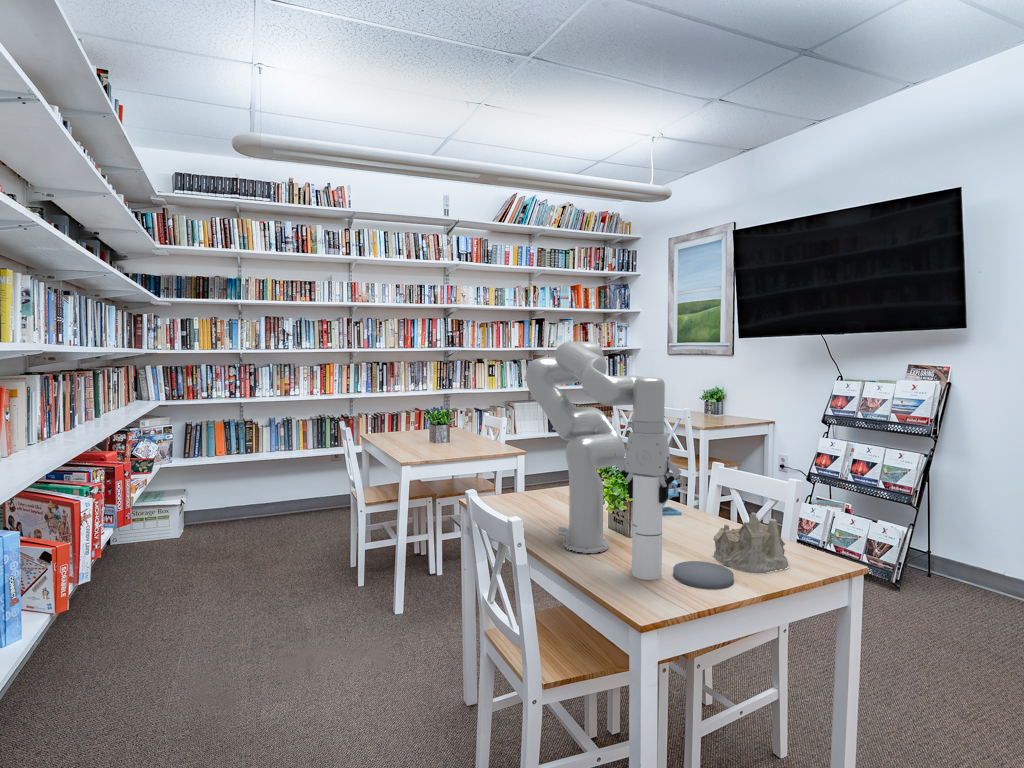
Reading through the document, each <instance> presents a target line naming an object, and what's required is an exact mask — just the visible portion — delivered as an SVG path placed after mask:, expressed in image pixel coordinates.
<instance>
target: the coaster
mask: <svg viewBox="0 0 1024 768" xmlns="http://www.w3.org/2000/svg"><path fill="white" fill-rule="evenodd" d="M672 568H673V569H672V572H673V573H672V574H673V575H672V576H673V578H674V579H675V580H676V581H677V582H680V583H681V584H683V585H686V586H690V587H693V588H698V589H706V590H720V589H725V588H726V589H727V588H728V587H731V586H732V585H734V583H735V582H734V579H735V578H734V577H735V575H734V573H733V571H732V570H731V569H730V568H728V567H727V566H725V565H722V564H721V565H720V564H717V563H714V562H708V561H701V560H700V561H699V560H697V561H696V560H691V561H683V562H682V561H681V562H679V563H676V564H675V565H673V567H672Z"/></svg>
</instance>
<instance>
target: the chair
mask: <svg viewBox="0 0 1024 768" xmlns="http://www.w3.org/2000/svg"><path fill="white" fill-rule="evenodd" d="M678 484H679V483H678V482H677V480H676V479H675V480H674V481H673V482H672V483H671V484H670V485H668V499H667V500H666V502H664V503H663V506H662V516H666V515H667V516H681V515H682V511H681V510H679V509H676V508H674V507H671V506H665V504H666V503H667V501H669V500H670V499H672V498H674V497H675V498H676V497H679V496H680V495H679V493H677V487H678ZM669 486H673V487H674V488H673V491H672V490H670V488H669ZM668 510H669V511H668Z"/></svg>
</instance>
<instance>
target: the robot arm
mask: <svg viewBox="0 0 1024 768" xmlns="http://www.w3.org/2000/svg"><path fill="white" fill-rule="evenodd" d="M607 367H608V366H607V362H606V360H605V356H604V351H603V349H602V348H601V346H600V345H599V344H597V343H596V342H593V341H566V342H563V343H561V344H560V345H558V347H557V348H556V349H555V352H554V356H544V357H538V358H536V359H533V360H531V361H530V362H529V363H528V364H527V366H526V371H525V381H526V386H527V389H528V391H529V393H530V395H531V396H532V398H533V399H534V400H535V402H537V404H538V405H539V406H540V408H541V409H542V410H543V412H544V413H545V416H546V417H547V418H548V420H549V421H550V424H551V425H552V427H553V430H555V431H556V434H557V435H558V436H559V438H560V439H562V440H565V441H569V442H567V445H566V448H565V456H566V457H565V458H566V463H567V469H568V481H569V482H568V485H569V486H568V489H569V491H568V492H569V493H568V494H569V495H568V497H569V498H568V499H569V500H568V503H569V505H568V507H569V508H568V512H569V513H568V514H569V515H568V518H569V519H568V527H563V526H559V527H558V529H557V535H558V536H562V537H565V539H564V540H563V547H564V546H565V547H566V548H568V549H570V550H573V551H577V552H583V553H582V554H586V553H591V554H598V552H600V553H603V552H606V551H607V550H608V549H609V542H608V541H607V540H606V539H604V483H603V480H602V478H601V476H600V475H599V472H598V470H597V469H601V468H602V469H603V468H609V467H610V468H611V467H616V468H617V469H618V471H619V472H620V474H621V476H622V477H623V478H624V479H625V482H626V483H627V495H628V499H629V500H633V474H638V475H646V476H655V477H659V481H660V483H661V487H660V488H659V502H660V503H664V502H666V500H667V499H668V485H669V486H671V485H670V484H671V483H672V482H673V481H674V480H675V481H676V479H677V478H678V477H679V476H681V473H682V470H681V469H680V468H679V467H678V466H677V465H676V464H674V462H672V460H671V457H670V456H671V455H670V446H669V445H670V444H669V439H668V435H667V434H666V433H665V403H666V402H665V394H666V393H665V392H666V390H665V389H666V388H665V386H666V384H665V381H664V380H663V379H662V378H660V377H651V376H649V377H647V376H646V377H645V376H641V375H607V374H606V372H607ZM579 382H580V383H581V387H582V390H583V391H584V393H585V394H586V395H587V396H588V397H589V398H591V399H592V400H594V401H595V402H597V403H599V404H601V405H603V406H607V407H616V406H618V407H619V406H632V420H631V421H628V422H627V427H628V428H631V431H632V432H629V433H628V438H627V442H626V443H627V444H626V447H625V443H624V441H623V438H622V437H621V435H620V434H619V433H618V431H617V430H616V428H615V427H614V425H613V424H612V423H611V421H610V420H609V418H608V417H607V416H606V414H605V413H604V412H603V411H602V410H601V409H599V408H597V407H593V406H587V407H585V406H583V407H579V406H576V405H575V404H574V403H573V402H572V400H571V399H570V397H569V396H568V395H567V393H565V392H564V391H563V390H561V389H560V388H558V387H557V386H556V385H574V384H577V383H579ZM670 471H671V474H670V476H669V477H668V475H667V474H669V472H670ZM668 500H669V499H668ZM668 500H667V501H668ZM666 503H667V502H666ZM565 547H564V548H565ZM566 548H565V549H566ZM568 549H567V550H568ZM570 550H569V551H570ZM573 551H572V552H573ZM577 552H576V553H577Z"/></svg>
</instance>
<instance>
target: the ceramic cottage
mask: <svg viewBox="0 0 1024 768" xmlns="http://www.w3.org/2000/svg"><path fill="white" fill-rule="evenodd" d="M779 532H780V531H779V527H778V520H777V519H775V518H770V519H769V520H768V525H767V524H763V523H761V520H760V519H759V517H758V516H757V513H755V512H751V513H750V516H749V519H748V521H747V522H746V521H745V522H743V523H742V525H741V526H740V528H732V529H730V525H729V524H727V523H726V524H724V525H723V527H720V529H719V530H718V532H717V533H716V534H715V535H714V536H713V542H714V547H715V551H714V552H713V557H714V558H715V559H716V561H718V562H719V563H720V564H721V565H722V566H725V567H726V568H728V567H729V568H731V569H733V570H736V571H740V572H742V573H748V572H749V574H759V573H764V574H766V573H765V572H770V571H775V570H780V569H785V568H787V567H788V566H789V567H790V565H789V561H788V558H787V556H785V551H786V550H785V548H784V546H785V545H786V543H785V542H784V541H783V539H782V537H781V536H780V533H779ZM770 573H771V572H770Z"/></svg>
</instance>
